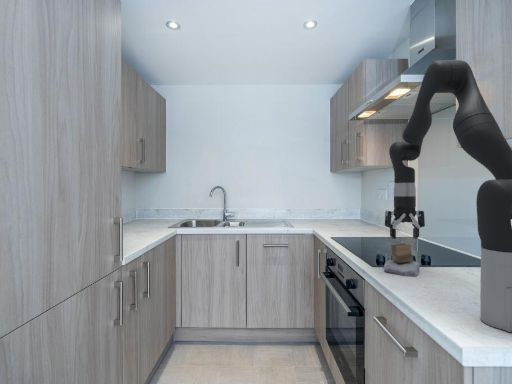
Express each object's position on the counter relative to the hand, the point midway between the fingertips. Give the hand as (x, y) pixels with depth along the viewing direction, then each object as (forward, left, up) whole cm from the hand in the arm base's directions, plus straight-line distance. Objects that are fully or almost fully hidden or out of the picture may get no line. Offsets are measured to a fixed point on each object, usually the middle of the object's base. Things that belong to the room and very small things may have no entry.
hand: (404, 238), depth 122 cm
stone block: (-2, +2, -13) cm, 13 cm away
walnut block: (0, +1, -8) cm, 8 cm away
